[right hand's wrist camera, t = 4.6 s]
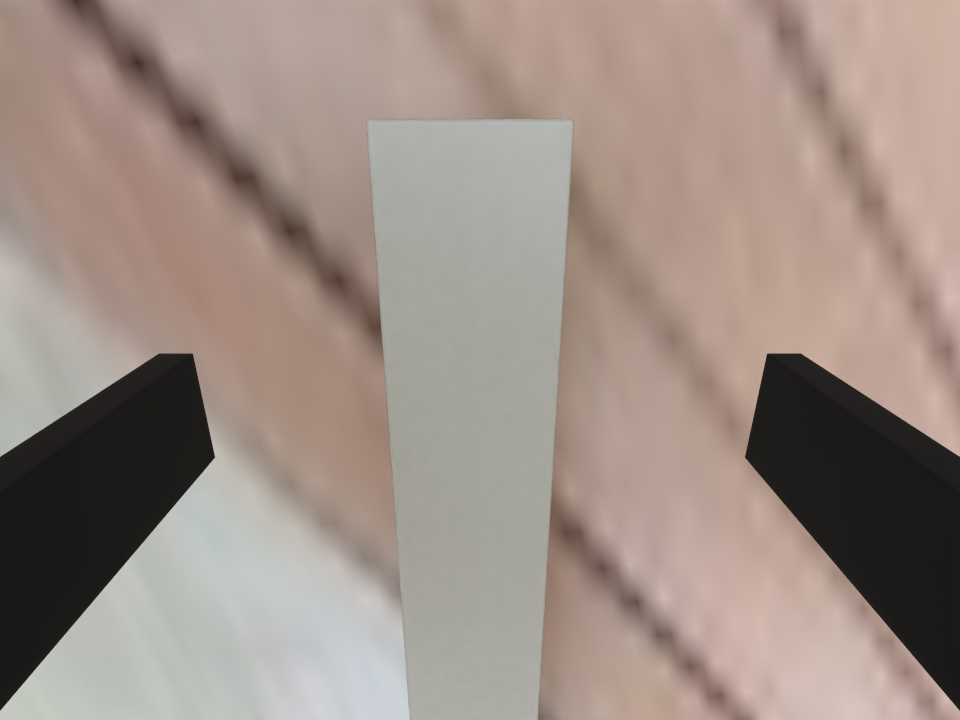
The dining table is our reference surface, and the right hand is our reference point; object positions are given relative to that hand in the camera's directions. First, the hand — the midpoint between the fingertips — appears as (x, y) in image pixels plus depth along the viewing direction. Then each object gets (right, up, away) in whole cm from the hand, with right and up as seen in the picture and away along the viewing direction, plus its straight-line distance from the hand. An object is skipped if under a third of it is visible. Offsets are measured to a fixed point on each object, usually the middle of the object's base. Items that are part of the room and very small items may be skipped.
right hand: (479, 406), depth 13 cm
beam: (0, -17, +21) cm, 26 cm away
